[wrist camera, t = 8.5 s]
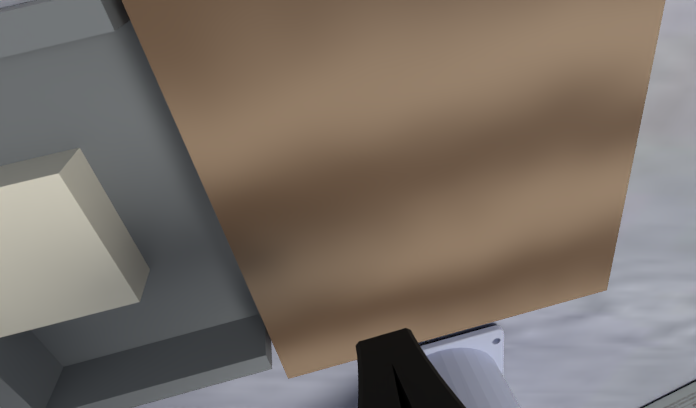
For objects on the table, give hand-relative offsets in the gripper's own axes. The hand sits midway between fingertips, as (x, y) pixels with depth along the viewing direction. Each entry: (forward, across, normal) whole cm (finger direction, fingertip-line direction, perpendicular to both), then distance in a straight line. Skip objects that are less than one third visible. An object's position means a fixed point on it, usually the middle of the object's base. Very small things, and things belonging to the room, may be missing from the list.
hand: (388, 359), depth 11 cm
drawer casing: (+9, -4, -1) cm, 10 cm away
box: (+9, +10, -1) cm, 14 cm away
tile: (+7, +12, -2) cm, 14 cm away
